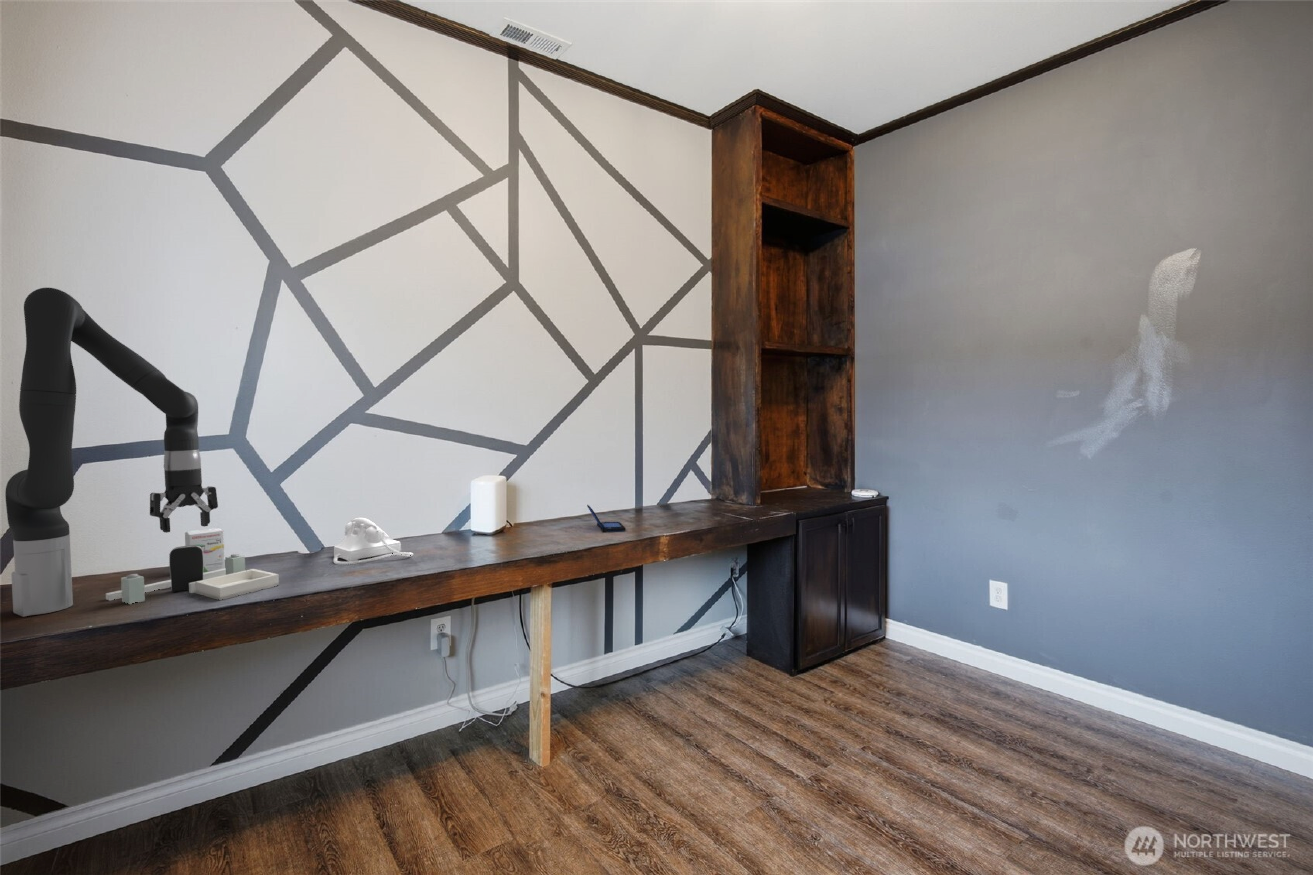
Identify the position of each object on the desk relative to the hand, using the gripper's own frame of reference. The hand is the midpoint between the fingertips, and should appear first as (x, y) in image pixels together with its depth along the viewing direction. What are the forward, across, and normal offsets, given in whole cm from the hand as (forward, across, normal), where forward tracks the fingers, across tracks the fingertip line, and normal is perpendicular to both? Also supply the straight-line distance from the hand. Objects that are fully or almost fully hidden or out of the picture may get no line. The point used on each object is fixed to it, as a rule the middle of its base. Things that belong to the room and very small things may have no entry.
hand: (186, 529), depth 156 cm
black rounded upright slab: (+16, 0, 0) cm, 16 cm away
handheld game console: (+18, +118, -55) cm, 131 cm away
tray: (+16, +6, -12) cm, 21 cm away
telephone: (+17, +44, -11) cm, 49 cm away
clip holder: (+16, 0, +1) cm, 16 cm away
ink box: (+16, +12, +17) cm, 26 cm away
